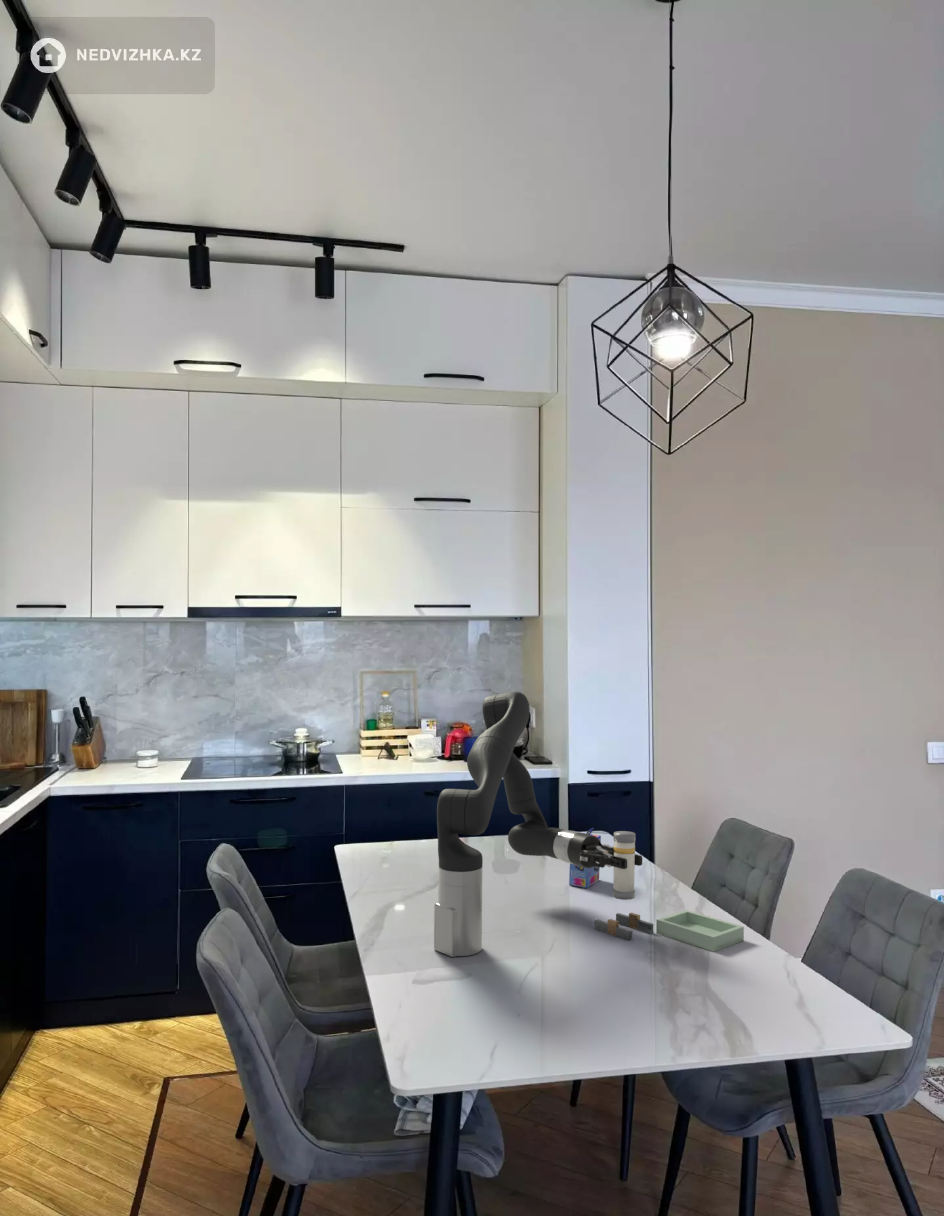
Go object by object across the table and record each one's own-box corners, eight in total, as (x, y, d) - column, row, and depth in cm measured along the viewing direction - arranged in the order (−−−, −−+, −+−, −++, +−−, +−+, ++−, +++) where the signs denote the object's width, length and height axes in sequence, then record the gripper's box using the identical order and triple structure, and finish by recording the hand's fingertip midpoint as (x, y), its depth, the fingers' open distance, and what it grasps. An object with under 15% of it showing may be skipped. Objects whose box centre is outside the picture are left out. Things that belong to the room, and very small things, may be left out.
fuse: (625, 901, 200) (625, 836, 201) (608, 896, 204) (609, 832, 204) (639, 897, 203) (639, 834, 204) (622, 892, 207) (623, 830, 207)
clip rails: (629, 941, 197) (629, 927, 197) (594, 929, 205) (594, 915, 205) (653, 933, 203) (653, 919, 203) (618, 921, 210) (618, 908, 210)
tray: (713, 951, 191) (713, 937, 191) (656, 933, 202) (656, 919, 203) (743, 940, 198) (743, 926, 198) (686, 923, 210) (686, 910, 210)
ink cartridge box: (588, 889, 237) (588, 833, 237) (568, 886, 239) (568, 830, 240) (601, 880, 245) (601, 826, 246) (581, 877, 248) (582, 823, 248)
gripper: (556, 836, 210) (612, 849, 197) (597, 828, 220) (654, 841, 207) (555, 869, 210) (612, 885, 197) (597, 860, 219) (654, 875, 206)
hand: (633, 862), depth 202 cm, fingers closed on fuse, 4 cm apart
